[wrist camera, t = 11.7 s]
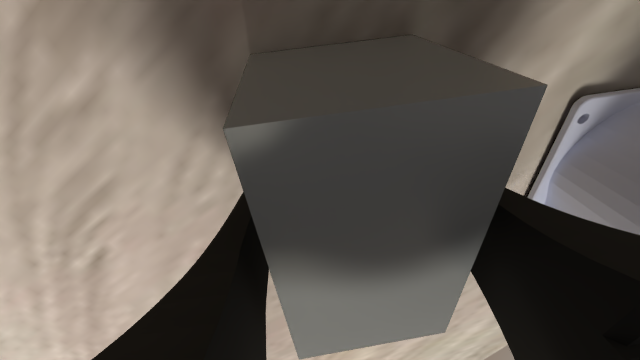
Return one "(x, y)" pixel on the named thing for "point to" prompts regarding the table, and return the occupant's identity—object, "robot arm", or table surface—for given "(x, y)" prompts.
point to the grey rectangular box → (374, 180)
